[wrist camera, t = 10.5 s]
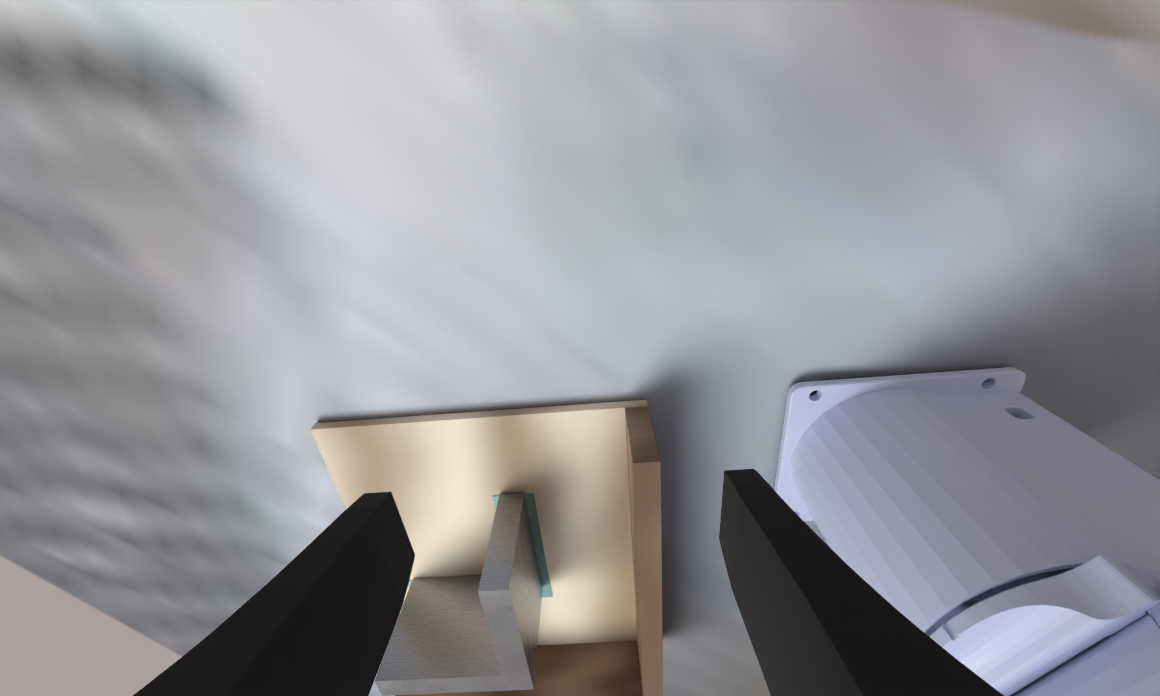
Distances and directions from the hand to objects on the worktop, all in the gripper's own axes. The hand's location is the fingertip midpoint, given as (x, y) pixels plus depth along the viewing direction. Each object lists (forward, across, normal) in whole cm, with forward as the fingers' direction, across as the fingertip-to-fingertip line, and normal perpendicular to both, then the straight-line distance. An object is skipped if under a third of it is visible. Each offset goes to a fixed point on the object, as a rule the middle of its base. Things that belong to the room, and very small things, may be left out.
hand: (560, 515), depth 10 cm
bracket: (+9, +6, +11) cm, 16 cm away
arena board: (+9, +4, +12) cm, 16 cm away
